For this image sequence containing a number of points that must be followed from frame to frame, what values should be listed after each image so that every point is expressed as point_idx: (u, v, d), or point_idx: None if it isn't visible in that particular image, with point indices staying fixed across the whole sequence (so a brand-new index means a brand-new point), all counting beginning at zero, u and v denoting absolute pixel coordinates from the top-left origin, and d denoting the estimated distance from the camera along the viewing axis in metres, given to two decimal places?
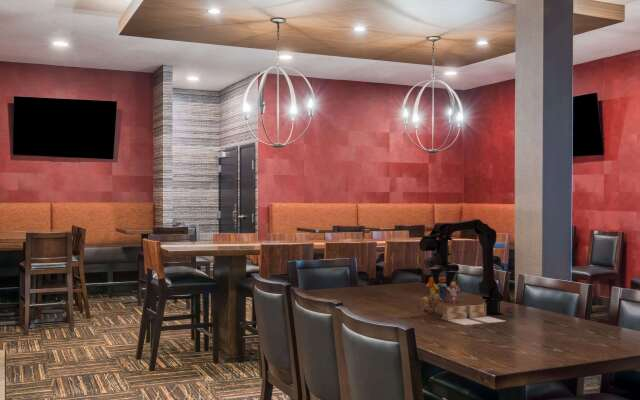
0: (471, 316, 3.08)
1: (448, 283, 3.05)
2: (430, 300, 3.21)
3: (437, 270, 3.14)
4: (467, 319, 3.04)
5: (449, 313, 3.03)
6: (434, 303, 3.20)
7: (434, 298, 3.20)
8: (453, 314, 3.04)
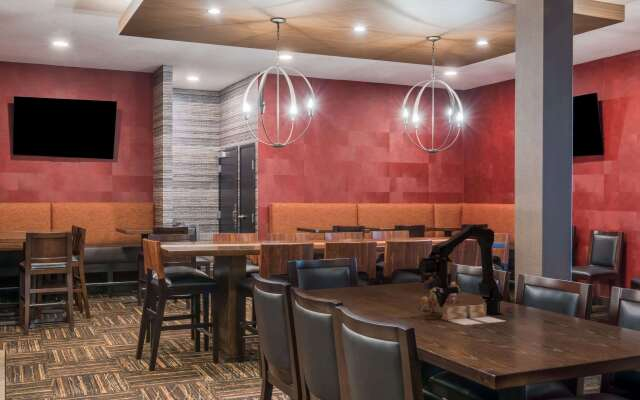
0: (471, 316, 3.08)
1: (442, 304, 3.08)
2: (430, 300, 3.22)
3: None
4: (467, 319, 3.04)
5: (449, 313, 3.03)
6: (434, 303, 3.21)
7: (434, 298, 3.21)
8: (453, 314, 3.04)
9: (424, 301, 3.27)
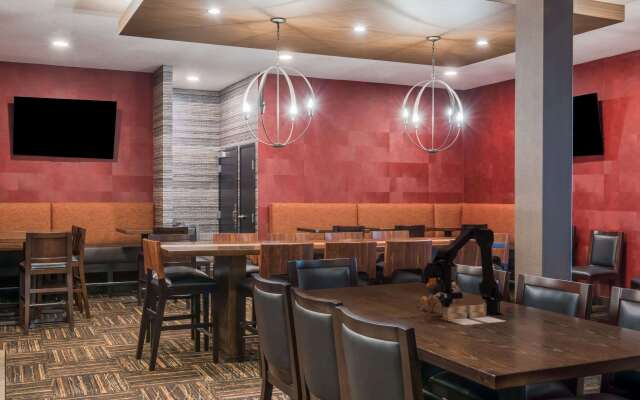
0: (471, 316, 3.08)
1: None
2: (429, 300, 3.22)
3: None
4: (467, 319, 3.04)
5: (449, 313, 3.03)
6: (433, 303, 3.21)
7: (433, 298, 3.21)
8: (453, 314, 3.04)
9: (423, 301, 3.27)
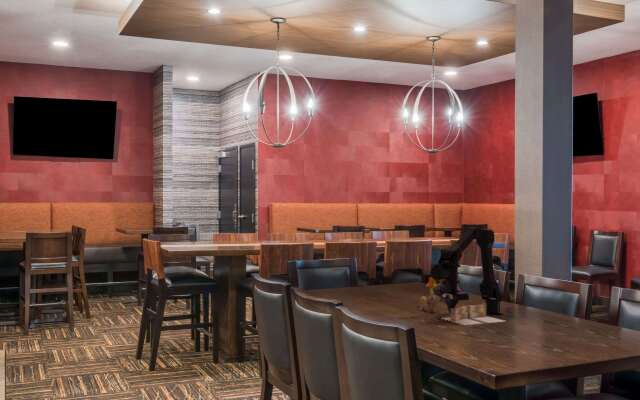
0: (471, 316, 3.08)
1: None
2: (429, 300, 3.23)
3: None
4: (467, 319, 3.04)
5: (456, 314, 3.00)
6: (433, 303, 3.21)
7: (433, 298, 3.21)
8: (459, 315, 3.02)
9: (423, 301, 3.27)
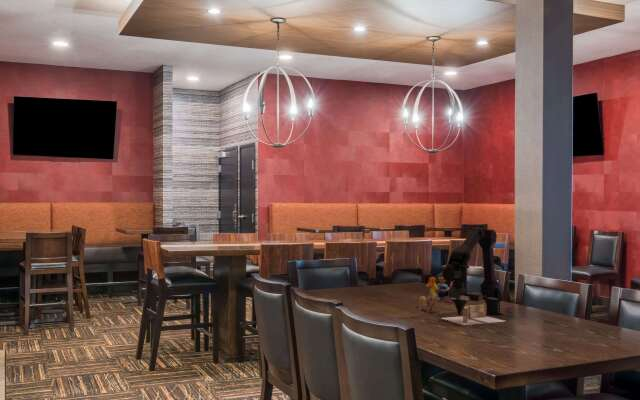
0: (471, 316, 3.08)
1: (461, 311, 2.98)
2: (428, 299, 3.23)
3: (459, 300, 3.00)
4: None
5: (467, 315, 2.98)
6: (432, 302, 3.22)
7: (432, 297, 3.22)
8: (467, 316, 3.00)
9: (422, 301, 3.28)
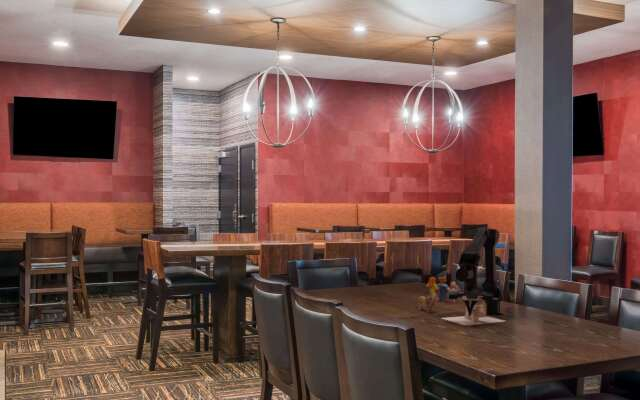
0: None
1: None
2: (427, 299, 3.23)
3: None
4: (467, 319, 3.04)
5: None
6: (431, 302, 3.22)
7: (431, 297, 3.22)
8: None
9: (422, 301, 3.28)
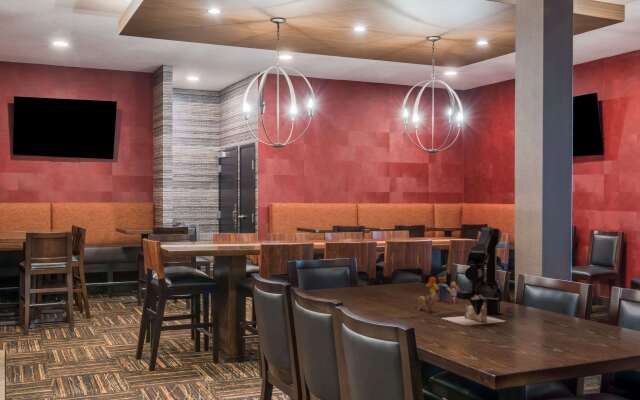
0: None
1: None
2: (427, 299, 3.24)
3: None
4: (467, 319, 3.04)
5: None
6: (431, 302, 3.23)
7: (431, 297, 3.23)
8: None
9: (421, 300, 3.28)
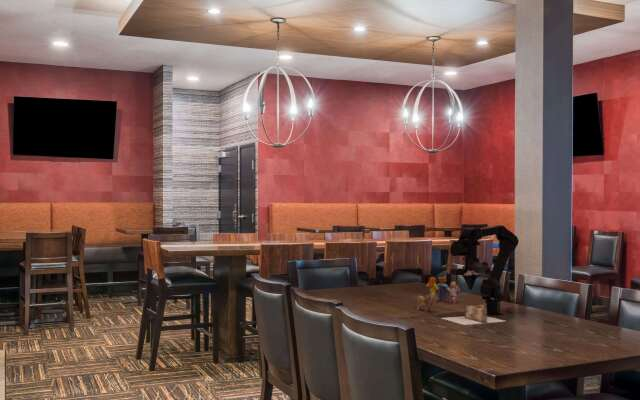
0: None
1: None
2: (426, 299, 3.24)
3: None
4: (467, 319, 3.04)
5: None
6: (430, 302, 3.23)
7: (430, 297, 3.23)
8: None
9: (420, 300, 3.29)
